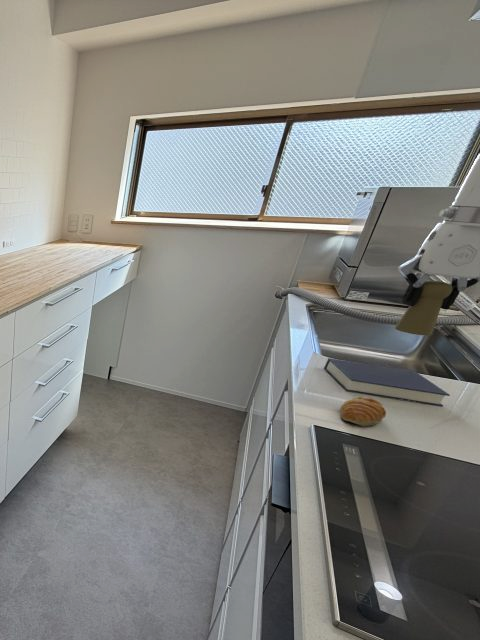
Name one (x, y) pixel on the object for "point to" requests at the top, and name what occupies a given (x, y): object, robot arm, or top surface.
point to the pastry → (363, 411)
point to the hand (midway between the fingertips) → (424, 305)
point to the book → (384, 381)
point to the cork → (425, 309)
